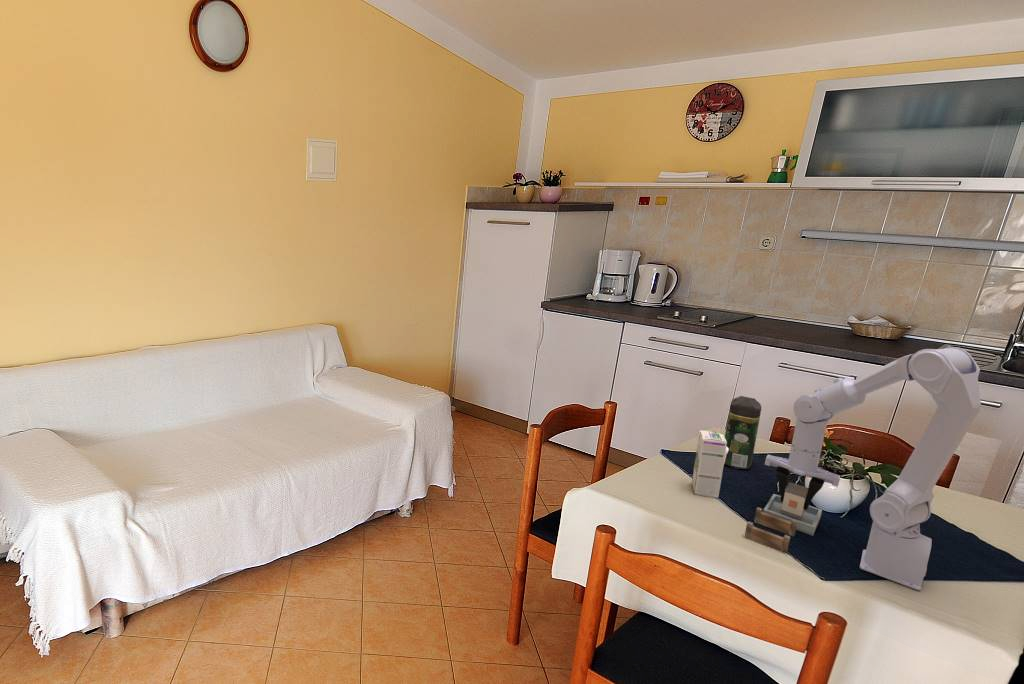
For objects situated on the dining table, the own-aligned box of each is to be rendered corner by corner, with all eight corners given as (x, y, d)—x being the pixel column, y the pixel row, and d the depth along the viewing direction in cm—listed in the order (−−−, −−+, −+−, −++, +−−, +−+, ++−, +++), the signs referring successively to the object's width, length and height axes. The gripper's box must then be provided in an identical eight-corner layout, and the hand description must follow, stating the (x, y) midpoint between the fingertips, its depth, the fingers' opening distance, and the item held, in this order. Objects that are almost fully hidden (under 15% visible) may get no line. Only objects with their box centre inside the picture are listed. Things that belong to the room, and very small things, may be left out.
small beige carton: (804, 512, 119) (809, 488, 118) (800, 519, 116) (806, 494, 115) (784, 505, 122) (789, 482, 120) (780, 512, 119) (785, 488, 117)
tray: (820, 517, 121) (822, 509, 120) (813, 536, 113) (815, 527, 112) (772, 501, 127) (773, 493, 126) (761, 517, 119) (763, 509, 118)
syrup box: (718, 498, 126) (729, 441, 123) (693, 494, 127) (702, 437, 124) (714, 487, 131) (724, 432, 128) (690, 483, 132) (699, 429, 129)
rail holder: (794, 534, 113) (797, 521, 112) (786, 553, 105) (789, 538, 105) (755, 520, 117) (757, 507, 117) (744, 536, 110) (747, 523, 109)
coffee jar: (722, 453, 153) (732, 392, 149) (751, 460, 150) (763, 397, 146) (718, 465, 145) (729, 400, 141) (750, 473, 141) (762, 407, 137)
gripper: (766, 442, 117) (755, 498, 120) (842, 463, 109) (828, 523, 112) (773, 434, 123) (763, 488, 125) (846, 453, 114) (833, 511, 117)
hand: (794, 504), depth 119 cm, fingers closed on small beige carton, 4 cm apart
